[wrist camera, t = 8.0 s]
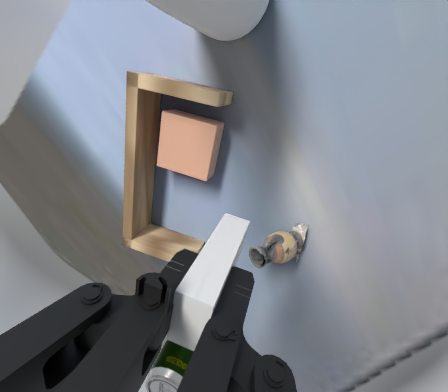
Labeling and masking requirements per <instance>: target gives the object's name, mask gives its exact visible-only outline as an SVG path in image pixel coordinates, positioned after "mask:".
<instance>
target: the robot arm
mask: <svg viewBox="0 0 448 392" xmlns="http://www.w3.org/2000/svg"><path fill="white" fill-rule="evenodd" d="M249 223H250V221H248V220H245V219H242V218H239V217H236V216H233V215H230V214H227V213H225V215H224V216H223V218H222V219H221V221H220V222H219V224H218V225H217V227H216V228H215V230H214V232H213V233H212V235H211V236H210V238H209V239H208V241H207V242H206V244H205V245H204V247H203V249H202V250H201V252H200V253H199V254H198V253H196V252H193V251H190V250H188V249H185V248H184V249H182V250H181V251H179V252H177V253H176V254H175V255H174V256H173V258H172V259H171V261H169V263H168V264H167V265H166V266H165V268H164V269H163V270H162V271H161V273H160V274H159V273H147V274H144V275H141V276H140V277H139V278H138V279H137V280H136V292H135V295H132V296H125V295H115V294H111V289H110V288H109V287H108V286H107V285H105V284H103V283H89V284H86V285H83V286H81V287H79V288H78V289H76V290H74V291H73V292H71V293H69V294H68V295H66V296H64V297H63V298H61V299H59V300H58V301H56V302H54V303H53V304H51V305H49V306H48V307H46V308H44V309H43V310H41V311H39V312H38V313H36V314H35V315H33V316H31V317H30V318H28V319H26V320H25V321H23V322H21V323H20V324H18V325H16V326H15V327H13V328H11V329H10V330H8V331H6V332H5V333H3V334H1V335H0V392H138V391H139V389H140V387H141V385H142V384H143V382H144V380H145V378H146V376H147V374H148V373H149V371H150V369H151V367H152V365H153V364H154V362H155V360H156V358H157V356H158V354H159V353H160V350H161V346H162V341H163V340H164V338H165V336H166V335H167V340H169V341H172V342H174V343H176V344H178V345H181V346H183V347H185V348H187V349H190V350H192V351H194V352H193V354H192V357H191V359H190V361H189V364H188V366H187V368H186V371H185V373H184V375H183V378H182V380H181V382H180V385H179V387H178V389H177V392H297V390H296V384H295V379H294V376H293V373H292V370H291V369H290V368H289V366H288V365H287V363H285V362H284V361H283V360H282V359H280V358H279V357H276V356H274V355H264V356H261V355H260V354H258V353H257V352H256V351H255V350H254V349H253V348H252V347H251V346H250V345H249V344H248V343H247V341H246V340H245V337H244V335H243V323H244V319H245V316H246V312H247V308H248V304H249V301H250V297H251V293H252V289H253V286H254V278H253V274H252V273H251V272H248V271H246V270H243V269H240V268H238V267H235V266H236V264H237V261H238V259H239V256H240V252H241V249H242V246H243V242H244V239H245V236H246V233H247V229H248V226H249ZM167 333H168V334H167Z"/></svg>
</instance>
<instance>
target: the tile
mask: <svg viewBox="0 0 448 392" xmlns="http://www.w3.org/2000/svg"><path fill="white" fill-rule="evenodd" d="M224 124H225V123H224V122H220V121H217V120H213V119H209V118H205V117H202V116H198V115H194V114H191V113H187V112H183V111H180V110H176V109H171V110H165V111H162V117H161V127H160V137H159V147H158V157H157V166H159V167H163V168H166V169H169V170H172V171H175V172H178V173H181V174H185V175H188V176H191V177H194V178H197V179H200V180H203V181H207V180H208V179H209V178H210V177H212V176H213V175H214V172H215V168H216V163H217V158H218V153H219V148H220V143H221V139H222V134H223V129H224Z"/></svg>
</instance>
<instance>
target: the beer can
mask: <svg viewBox="0 0 448 392" xmlns="http://www.w3.org/2000/svg"><path fill="white" fill-rule="evenodd" d="M193 352H194V351H192V350H190V349H187V348H185V347H183V346H181V345H178V344H176V343H174V342H172V341H169V340H167V341H166V343H165V345H164V346H163V348H162V350H161V352H160V354H159V355H158V357H157V359H156V361H155V363H154V364H153V366H152V368H151V370H150V372H149V377H148V380H147V381H146V389H147V391H148V392H177V389H178V387H179V385H180V382H181V380H182V378H183V375H184V373H185V371H186V368H187V366H188V364H189V361H190V359H191V357H192V354H193Z"/></svg>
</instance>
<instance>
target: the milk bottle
mask: <svg viewBox="0 0 448 392" xmlns="http://www.w3.org/2000/svg"><path fill="white" fill-rule="evenodd" d="M146 1H147V2H149V3H150V4H152V5H154V6H155V7H157V8H158V9H160V10H161V11H163V12H165V13H166V14H168V15H170V16H172V17H174V18H175V19H177V20H179V21H181V22H182V23H184V24H186V25H188V26H190V27H192V28H194V29H195V30H197V31H199V32H201V33H203V34H205V35H207V36H209V37H211V38H213V39H216V40H220V41H231V40H236V39H238V38H241V37H243V36H244V35H246V34H248V33H249V32H250V31H251V30H252V29H253V28H254V27H255V26H256V25H257V24H258V23H259V21H260V20H261V18H262V17H263V15H264V13H265V11H266V8H267V6H268V3H269V0H146Z"/></svg>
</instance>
